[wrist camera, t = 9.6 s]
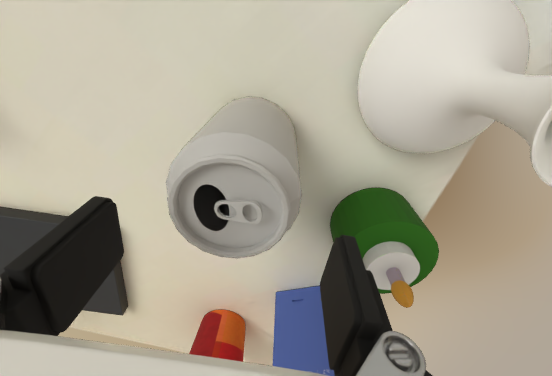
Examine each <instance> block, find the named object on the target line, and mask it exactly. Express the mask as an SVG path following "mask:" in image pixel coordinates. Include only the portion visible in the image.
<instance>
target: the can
mask: <svg viewBox="0 0 552 376" xmlns="http://www.w3.org/2000/svg"><path fill="white" fill-rule="evenodd" d="M166 185H167V194H168V197H167V200H168V208H169V215H170V217H171V219H172V221H173V223H174V225H175V227H176V229H177V230H178V231H179V232H180V233H181V234H182V235H183V237H184V238H185V239H186V240H187V241H188V242H190V243H191V244H193V245H194V246H196V247H198V248H199V249H201V250H202V251H204V252H207V253H210V254H213V255H216V256H219V257H228V258H243V257H250V256H255V255H257V254H260V253H262V252H264V251H267V250H269V249H270V248H271V247H272V246H274V245H275V244H276V243H277V242H278V241H279V240H281V238H282V236H283V235H284V233H285V232H286V231H287V230H289V229H290V228H291V226H292V224H293V222H294V221H295V219H296V217H297V215H298V214H299V209H300V203H301V197H302V193H301V182H300V172H299V161H298V151H297V141H296V135H295V130H294V126H293V124H292V122H291V120H290V119H289V117H288V115H287V114H286V113H285V112H284V111H283V110H282V109H281V108H280V107H279V106H278V105H276V104H275V103H272V102H270V101H268V100H266V99H264V98H257V97H244V98H239V99H235V100H233V101H231V102H230V103H228V104H226V105H225V106H223V107H222V108H221V109H220V110H219V111H218V112H217V113H216V114H215V115H214V116H213V117H212V118H211V119H210V120H209V121H208V122H207V123H206V124H205V125H204V126H203V127H202V129H201V130H200V131H199V132H198V133H197V134H196V135H195V136H194V137H193V138H192V139H191V140H190V141H189V142H188V143H187V144H186V145H185V146H184V147H183V148H182V149H181V151H180V152H179V153H178V155H177V156H176V157H175V159H174V160H173V161H172V163H171V165H170V169H169V173H168V176H167V180H166Z"/></svg>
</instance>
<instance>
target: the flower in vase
mask: <svg viewBox="0 0 552 376" xmlns="http://www.w3.org/2000/svg"><path fill="white" fill-rule="evenodd" d="M529 49H530V43H529V33H528V29H527V24H526V22H525V20H524V17H523V15H522V13H521V12H520V10H519V9H518V7H517V6H516V5H515V4H514V3H513V2H512V1H511V0H410V1H408V2H407V3H406V4H404V5H403V6H401V7H400V8H399V9H398V10H397V11H396V12H395V13H394V14H393V15H391V17H390V18H389V19H388V20H387V21H386V22H385V23H384V24H383V26H382V27H381V28H380V30H379V31H378V33H377V34H376V35H375V37H374V39H373V40H372V42H371V44H370V46H369V47H368V50H367V52H366V54H365V57H364V59H363V62H362V66H361V69H360V74H359V79H358V103H359V108H360V112H361V115H362V117H363V120H364V122H365V124H366V126H367V127H368V129H369V130H370V131H371V133H372V134H373V135H374V136H375V137H376V138H377V139H378V140H379V141H381V142H382V143H384V144H385V145H387V146H389V147H391V148H393V149H396V150H399V151H403V152H408V153H423V154H424V153H435V152H441V151H445V150H448V149H452V148H454V147H457V146H459V145H462V144H464V143H465V142H467V141H469V140H471V139H473V138H474V137H476V136H477V135H479V134H480V133H482V132H483V131H484V130H485V129H487V128H488V127H489V126H490V125H491V124H492V123H493V122H494V121H497V122H500V123H502V124H504V125H505V126H507V127H509V128H510V129H512V130H514V131H515V132H517V133H518V134H519V135H520V136H522V137H523V138H524V139H525V140H526V141H527V143H528V144H529V146H530V158H531V162H532V166H533V168H534V170H535V172H536V174H537V175H538V176H539V178H540V179H541V180H542V181H543V182H545V183H546V184H548V185H549V186H551V187H552V75H525V72H526V69H527V64H528V59H529Z"/></svg>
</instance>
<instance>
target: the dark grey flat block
mask: <svg viewBox="0 0 552 376" xmlns="http://www.w3.org/2000/svg"><path fill="white" fill-rule="evenodd" d="M66 218H67V216H60V215H53V214H47V213H40V212H33V211H26V210H19V209H12V208H5V207H0V275H1V274H2V273H3V272H4V271H5V270H4V267H6V266H7V265H8V264H9V263H11V262H12V261H13V260H15V259H16V258H17V257H18V256H20V255H21V254H22V253H23V252H25V251H26V250H27V249H28V248H30V247H31V246H32V245H33V244H35V243H36V242H37V241H38V240H40V239H41V238H42V237H44V236H45V235H46V234H47V233H49V232H50V231H51V230H52V229H54V228H55V227H56V226H57V225H59V224H60V223H61V222H62V221H64V220H65V219H66ZM127 307H128V303H127V297H126V291H125V286H124V280H123V274H122V269H121V263H120V261H119V263H118V264H117V265H116V267H115V268H114V269H113V270H112V272H111V273H110V274H109V276H108V277H107V278H106V279H105V281H104V282H103V283H102V285H101V286H100V287H99V288H98V290H97V291H96V292H95V294H94V295H93V296H92V298H91V299H90V300H89V301H88V303H87V304H86V305H85V307H84V308H83V309H82V310H85V311H93V312H100V313H108V314H116V315H123V314H124V312H125V311H126V309H127Z"/></svg>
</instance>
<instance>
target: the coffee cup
mask: <svg viewBox="0 0 552 376" xmlns="http://www.w3.org/2000/svg"><path fill="white" fill-rule="evenodd" d="M244 341H245V322H244V320H243V318H242V317H241V316H240V315H238V314H236V313H234V312H232V311H228V310H214V311H211V312H209V313H207V314H206V315H205V316H204V318H203V320H202V322H201V324H200V327H199V330H198V332H197V335H196V337H195V340H194V343H193V345H192V348H191V351H190V353H189V354H192V355H199V356H206V357H213V358H220V359H227V360H234V361H241V362H243V354H244Z"/></svg>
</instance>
